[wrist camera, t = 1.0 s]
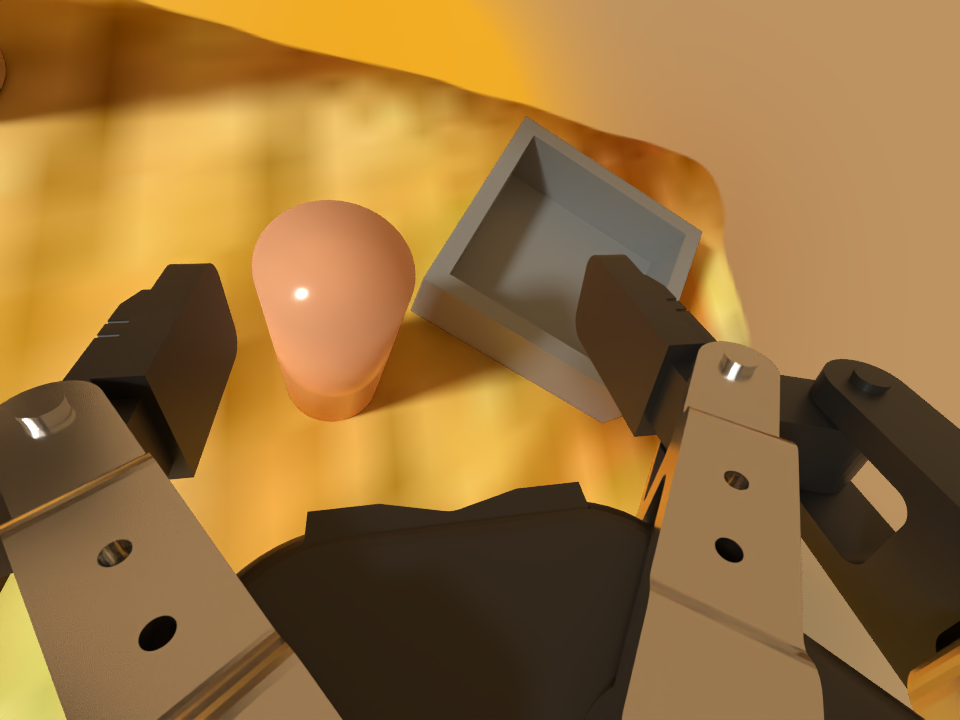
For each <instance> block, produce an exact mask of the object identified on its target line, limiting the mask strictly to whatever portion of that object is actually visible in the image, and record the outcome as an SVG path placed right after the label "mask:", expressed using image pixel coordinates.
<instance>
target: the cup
mask: <svg viewBox="0 0 960 720" xmlns="http://www.w3.org/2000/svg"><path fill="white" fill-rule="evenodd" d="M252 274H253V280H254V284H255V287H256V290H257V293H258V297H259V300H260V303H261V306H262V310H263V313H264V316H265V319H266V323H267V326H268V329H269V332H270V336H271V339H272V342H273V345H274V349H275V352H276V355H277V358H278V362H279V365H280V368H281V371H282V375H283V378H284V381H285V384H286V388H287V391H288V394H289V396H290V398H291V400H292V402H293V403H294V404H295V406H296V407H297V408H298V409H299V410H300V411H302V412H303V413H304V414H306V415H308V416H310V417H312V418H314V419H317V420H321V421H330V422H333V421H341V420H345V419H348V418H351V417H353V416H355V415H356V414H358V413H360V412H361V411H362V410H363V409H364V408H365V407H366V406H367V405H368V404H369V402H370V401H371V399H372V398H373V396H374V393H375V391H376V388H377V385H378V383H379V380H380V378H381V375H382V372H383V370H384V367H385V365H386V362H387V359H388V357H389V354H390V352H391V349H392V346H393V344H394V341H395V339H396V336H397V333H398V331H399V328H400V326H401V323H402V320H403V318H404V315H405V313H406V310H407V307H408V305H409V302H410V299H411V297H412V294H413V291H414V285H415V265H414V261H413V257H412V254H411V252H410V249H409V247H408V245H407V243H406V242H405V240H404V239H403V237H402V236H401V234H400V233H399V232H398V231H397V230H396V229H395V228H394V226H393V225H391V224H390V223H389V222H388V221H387V220H386V219H384V218H383V217H381V216H380V215H378V214H377V213H375V212H373V211H371V210H369V209H367V208H364V207H362V206H359V205H356V204H353V203H349V202H343V201H334V200H322V201H313V202H308V203H304V204H301V205H298V206H295V207H293V208H290V209H288V210H287V211H285V212H283V213H281V214H280V215H279V216H277V217H276V218H275V219H274V220H273V221H272V222H271V223H270V224H269V225H268V226H267V227H266V228H265V229H264V231H263V232H262V233H261V235H260V237H259V239H258V241H257V243H256V246H255V249H254V252H253V258H252Z"/></svg>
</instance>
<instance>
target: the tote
mask: <svg viewBox="0 0 960 720" xmlns="http://www.w3.org/2000/svg"><path fill="white" fill-rule="evenodd" d="M701 235H702V231H700V230H699V229H697V228H696V227H694V226H693V225H691V224H690V223H688V222H687V221H685V220H684V219H682V218H681V217H679V216H678V215H676V214H675V213H673V212H672V211H670V210H668V209H667V208H665V207H664V206H662V205H661V204H659V203H658V202H656V201H655V200H653V199H652V198H650V197H649V196H647V195H646V194H644V193H643V192H641V191H640V190H638V189H636V188H635V187H633V186H632V185H630V184H629V183H627V182H626V181H624V180H623V179H621V178H620V177H618V176H617V175H615V174H614V173H612V172H611V171H609V170H608V169H606V168H605V167H603V166H601V165H600V164H598V163H597V162H595V161H594V160H592V159H591V158H589V157H588V156H586V155H585V154H583V153H582V152H580V151H579V150H577V149H576V148H574V147H573V146H571V145H570V144H568V143H566V142H565V141H563V140H562V139H560V138H559V137H557V136H556V135H554V134H553V133H551V132H550V131H548V130H547V129H545V128H544V127H542V126H541V125H539V124H538V123H536V122H535V121H533V120H531V119H530V118H528V117H527V116H526V117H525V119H524V121H523V122H522V124H521V125H520V127H519V128H518V130H517V132H516V133H515V135H514V136H513V138H512V139H511V141H510V143H509V144H508V146H507V147H506V149H505V151H504V152H503V154H502V155H501V157H500V158H499V160H498V162H497V163H496V165H495V166H494V168H493V169H492V171H491V173H490V174H489V176H488V177H487V179H486V181H485V182H484V184H483V185H482V187H481V188H480V190H479V192H478V193H477V195H476V196H475V198H474V199H473V201H472V203H471V204H470V206H469V207H468V209H467V211H466V212H465V214H464V215H463V217H462V218H461V220H460V222H459V223H458V225H457V226H456V228H455V229H454V231H453V233H452V234H451V236H450V237H449V239H448V241H447V242H446V244H445V245H444V247H443V248H442V250H441V252H440V253H439V255H438V256H437V258H436V259H435V261H434V263H433V264H432V266H431V267H430V269H429V271H428V272H427V274H426V275H425V277H424V278H423V281H422V283H421V286H420V288H419V291H418V293H417V296H416V298H415V301H414V303H413V306H412V308H411V311H412V312H414V313H416V314H417V315H419V316H421V317H423V318H424V319H426V320H428V321H429V322H431V323H433V324H434V325H436V326H438V327H440V328H441V329H443V330H445V331H446V332H448V333H450V334H451V335H453V336H455V337H457V338H458V339H460V340H462V341H463V342H465V343H467V344H469V345H470V346H472V347H474V348H475V349H477V350H479V351H480V352H482V353H484V354H486V355H487V356H489V357H491V358H492V359H494V360H496V361H497V362H499V363H501V364H503V365H504V366H506V367H508V368H509V369H511V370H513V371H514V372H516V373H518V374H520V375H521V376H523V377H525V378H526V379H528V380H530V381H532V382H533V383H535V384H537V385H538V386H540V387H542V388H543V389H545V390H547V391H549V392H550V393H552V394H554V395H555V396H557V397H559V398H560V399H562V400H564V401H566V402H567V403H569V404H571V405H572V406H574V407H576V408H577V409H579V410H581V411H583V412H584V413H586V414H588V415H589V416H591V417H593V418H594V419H596V420H598V421H600V422H601V423H603V422H606V421H609V420H612V419H615V418H618V417H621V416H622V414H621V412H620V411H619V409H618V407H617V405H616V404H615V402H614V400H613V398H612V396H611V395H610V393H609V391H608V389H607V388H606V386H605V384H604V382H603V381H602V379H601V377H600V375H599V374H598V372H597V370H596V368H595V367H594V365H593V363H592V361H591V360H590V358H589V356H588V354H587V353H586V351H585V349H584V347H583V346H582V344H581V342H580V340H579V338H578V336H577V332H576V324H575V318H576V311H577V306H578V302H579V297H580V293H581V288H582V284H583V279H584V274H585V270H586V266H587V263H588V260H589V259H590V257H591V256H593V255H619V254H624V255H626V256H627V257H628V258H629V259H630V260H631V261H632V262H633V263H634V264H635V265H636V266H637V267H638V269H639V270H640V271H641V272H642V273H643V274H644V275H647V276H649V277H651V278H653V279H654V280H656V281H658V282H659V283H661V284H663V285H665V287H666V288H667V289H668V290H669V291H670V292H671V293H672V294H673V295H674V296H675V297H676V301H679V300H680V297H681V294H682V291H683V288H684V285H685V282H686V279H687V276H688V273H689V270H690V267H691V264H692V261H693V258H694V255H695V252H696V249H697V246H698V244H699V241H700V238H701Z"/></svg>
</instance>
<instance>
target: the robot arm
mask: <svg viewBox="0 0 960 720" xmlns="http://www.w3.org/2000/svg"><path fill="white" fill-rule="evenodd" d="M5 76H6V67H5V60H4V58H3V55H2V52H1V50H0V89H1V88H2V86H3V83H4V79H5ZM575 324H576V332H577V336H578V338H579V340H580V342H581V344H582V346H583V347H584V349H585V351H586V353H587V354H588V356H589V358H590V360H591V361H592V363H593V365H594V367H595V368H596V370H597V372H598V374H599V375H600V377H601V379H602V381H603V382H604V384H605V386H606V388H607V389H608V391H609V393H610V395H611V396H612V398H613V400H614V402H615V404H616V405H617V407H618V409H619V411H620V412H621V414H622V416H623V418H624V419H625V421H626V423H627V425H628V426H629V428H630V430H631V432H632V433H633V435H634V437H637V436H648V435H658V437H659V439H660V442H659V444H658V447H657V449H656V451H655V455H654V458H653V461H652V465H651V468H650V472H649V475H648V478H647V482H646V485H645V489H644V492H643V496H642V499H641V502H640V506H639V509H638V513H637V516H636V517H635V516H632V515H630V514H628V513H626V512H624V511H621V510H618V509H615V508H612V507H609V506H605V505H600V504H596V503H591V502H586V499H585V497H584V494H583V492H582V489H581V487H580V485H579V482H573V483H563V484H554V485H545V486H536V487H527V488H518V489H514V490H512V491H509V492H506V493H503V494H501V495H498V496H495V497H492V498H490V499H487V500H484V501H481V502H478V503H476V504H473V505H470V506H467V507H465V508H462V509H459V510H455V511H438V510H429V509H420V508H411V507H402V506H393V505H384V504H374V505H365V506H356V507H347V508H338V509H329V510H320V511H311V512H308V513H307V521H306V530H305V535H302V536H300V537H297V538H294V539H292V540H290V541H287V542H285V543H283V544H281V545H279V546H277V547H275V548H273V549H272V550H270V551H268V552H266V553H265V554H263V555H261V556H260V557H258V558H257V559H255V560H254V561H253V562H251V563H250V564H248V565H247V566H246V567H244V568H243V569H242V570H241V571H239V572H238V573H237V574H235V573H234V571H233V570H232V568H231V567H230V565H229V564H228V563H227V561H226V560H225V558H224V557H223V556H222V554H221V553H220V551H219V550H218V548H217V547H216V546H215V544H214V543H213V541H212V540H211V538H210V537H209V536H208V534H207V533H206V531H205V530H204V529H203V527H202V526H201V524H200V523H199V521H198V520H197V519H196V517H195V516H194V514H193V513H192V511H191V510H190V509H189V507H188V506H187V504H186V503H185V502H184V500H183V499H182V497H181V496H180V494H179V493H178V492H177V490H176V489H175V487H174V486H173V484H172V483H171V482H170V480H169V479H180V478H190V477H194V475H195V472H196V469H197V467H198V464H199V461H200V458H201V455H202V452H203V449H204V447H205V444H206V441H207V438H208V435H209V432H210V429H211V427H212V424H213V421H214V418H215V415H216V412H217V409H218V406H219V404H220V401H221V398H222V395H223V392H224V389H225V386H226V384H227V381H228V378H229V375H230V372H231V369H232V366H233V364H234V361H235V358H236V353H237V336H236V330H235V326H234V323H233V320H232V316H231V313H230V310H229V307H228V303H227V300H226V297H225V293H224V290H223V287H222V284H221V280H220V277H219V274H218V272H217V270H216V268H215V266H214V265H213V264H211V263H205V264H170V265H168V266H167V267H166V268H165V270H164V271H163V273H162V274H161V276H160V277H159V279H158V280H157V281H156V283H155V284H154V286H153V287H152V289H151V290H141V291H140V292H138V293H137V294H135V295H134V296H132V297H131V298H129V299H127V300H126V301H124V302H123V303H121V304H120V305H119V306H118V308H117V309H116V310H115V312H114V313H113V314H112V316H111V317H110V318H109V320H108V324H105V325H104V326H103V328H102V329H101V330H100V332H99V333H98V334H97V335H98V338H94V340H93V341H92V342H91V343H90V345H89V346H88V347H87V349H86V350H85V351H84V353H83V354H82V355H81V357H80V358H79V359H78V361H77V362H76V363H75V365H74V366H73V367H72V369H71V370H70V371H69V373H68V374H67V375H66V377H65V378H64V379H63V381H59V382H53V383H49V384H45V385H41V386H38V387H35V388H32V389H29V390H27V391H25V392H22V393H20V394H18V395H16V396H14V397H12V398H10V399H9V400H7V401H6V402H4V403H2V404H1V405H0V592H1V590H2V588H3V587H4V585H5V583H6V581H7V579H8V577H9V575H10V574H11V573H14V575H15V578H16V581H17V584H18V586H19V589H20V592H21V595H22V597H23V600H24V603H25V606H26V608H27V611H28V614H29V617H30V620H31V622H32V625H33V628H34V631H35V633H36V636H37V639H38V642H39V644H40V647H41V650H42V653H43V655H44V658H45V661H46V664H47V666H48V669H49V672H50V675H51V677H52V680H53V683H54V686H55V688H56V691H57V694H58V697H59V700H60V702H61V705H62V708H63V711H64V713H65V716H66V719H67V720H960V429H959V428H957V427H956V426H955V425H954V424H953V423H951V422H950V421H949V420H948V419H947V418H945V417H944V416H943V415H942V414H940V413H939V412H938V411H937V410H936V409H934V408H933V407H932V406H931V405H930V404H928V403H927V402H926V401H925V400H924V399H922V398H921V397H920V396H919V395H917V394H916V393H915V392H914V391H913V390H911V389H910V388H909V387H908V386H907V385H905V384H904V383H903V382H902V381H900V380H899V379H898V378H896V377H894V376H893V375H891V374H890V373H888V372H886V371H884V370H882V369H880V368H877V367H875V366H872V365H870V364H866V363H863V362H859V361H855V360H848V359H838V360H832V361H830V362H828V363H827V364H826V365H825V366H824V367H823V369H822V371H821V372H820V374H819V375H818V377H817V378H816V380H810V379H803V378H797V377H790V376H784V375H780V373H779V371H778V369H777V367H776V366H775V365H774V364H773V362H772V361H771V360H769V359H768V358H767V357H765V356H764V355H762V354H761V353H759V352H757V351H755V350H753V349H751V348H749V347H746V346H743V345H740V344H736V343H731V342H722V341H719V342H717V341H716V340H715V339H714V338H713V337H712V335H711V334H710V333H709V332H708V331H707V330H706V329H705V328H704V327H703V326H702V325H701V324H700V323H699V322H698V321H697V319H696V318H695V317H694V316H693V315H692V314H691V313H690V312H689V311H686V308H685V307H684V306H683V305H682V304H681V302H680V301H676V297H675V296H674V295H673V294H672V293H671V292H670V291H669V290H668V289H667V288H666V287H665V285H663V284H661V283H659V282H658V281H656V280H654V279H653V278H651V277H649V276H647V275H644V274H643V273H642V272H641V271H640V270H639V269H638V267H637V266H636V265H635V264H634V263H633V262H632V261H631V260H630V259H629V258H628V257H627V256H626V255H624V254H619V255H593V256H591V257H590V259H589V260H588V263H587V266H586V270H585V274H584V279H583V284H582V288H581V293H580V297H579V302H578V306H577V311H576V318H575ZM867 460H869V461H870V462H871V463H872V464H873V465H874V466H875V467H876V468H877V469H878V470H879V471H880V473H881V474H882V475H883V476H884V477H885V478H886V479H887V480H888V481H889V482H890V483H891V484H892V485H893V486H894V487H895V488H896V489H897V490H898V492H899V493H900V494H901V495H902V497H903V499H904V501H905V503H906V506H907V520H906V522H905V524H904V525H903V526H902V527H901V528H900V529H899V530H898V531H897V532H895V531H894V530H893V529H892V528H891V527H890V525H889V524H888V523H887V522H886V521H885V520H884V519H883V517H882V516H881V515H880V514H879V513H878V512H877V510H876V509H875V508H874V507H873V506H872V505H871V504H870V502H869V501H868V500H867V499H866V498H865V497H864V496H863V495H862V493H861V492H860V491H859V490H858V489H857V488H856V487H855V485H854V484H853V483H852V482H851V481H850V480H851V479H852V478H853V477H854V476H855V475H856V473H857V472H858V471H859V470H860V469H861V468H862V466H863V465H864V464H865V463H866V461H867ZM801 538H802V539H803V540H804V542H805V543H806V545H807V546H808V548H809V549H810V550H811V552H812V553H813V555H814V556H815V558H816V559H817V560H818V562H819V563H820V565H821V566H822V568H823V569H824V570H825V572H826V573H827V575H828V576H829V578H830V579H831V580H832V582H833V583H834V585H835V586H836V587H837V589H838V591H839V592H840V593H841V595H842V596H843V597H844V599H845V601H846V602H847V603H848V605H849V606H850V608H851V609H852V610H853V612H854V613H855V615H856V616H857V618H858V619H859V620H860V622H861V623H862V625H863V626H864V628H865V629H866V630H867V632H868V633H869V635H870V636H871V638H872V639H873V641H874V642H875V643H876V645H877V646H878V648H879V649H880V651H881V652H882V653H883V655H884V656H885V658H886V659H887V661H888V662H889V663H890V665H891V666H892V668H893V669H894V671H895V672H896V674H897V675H898V676H899V678H900V679H901V681H902V682H903V684H904V685H905V686H906V688H907V689H908V695H909V698H910V702H911V705H912V707H913V709H914V711H913V710H911V709H910V708H909V707H907V706H905V705H904V704H903V703H901V702H900V701H899V700H897V699H896V698H894V697H893V696H891V695H890V694H889V693H887V692H886V691H884V690H883V689H882V688H880V687H879V686H878V685H876V684H875V683H873V682H872V681H871V680H869V679H868V678H866V677H865V676H863V675H862V674H861V673H859V672H858V671H856V670H855V669H854V668H852V667H851V666H849V665H848V664H847V663H845V662H844V661H842V660H841V659H839V658H838V657H837V656H835V655H834V654H832V653H831V652H830V651H828V650H827V649H825V648H824V647H823V646H821V645H820V644H818V643H817V642H815V641H814V640H812V639H811V638H810V637H808V636H807V635H806V634H804V633H803V607H802V570H801Z"/></svg>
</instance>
